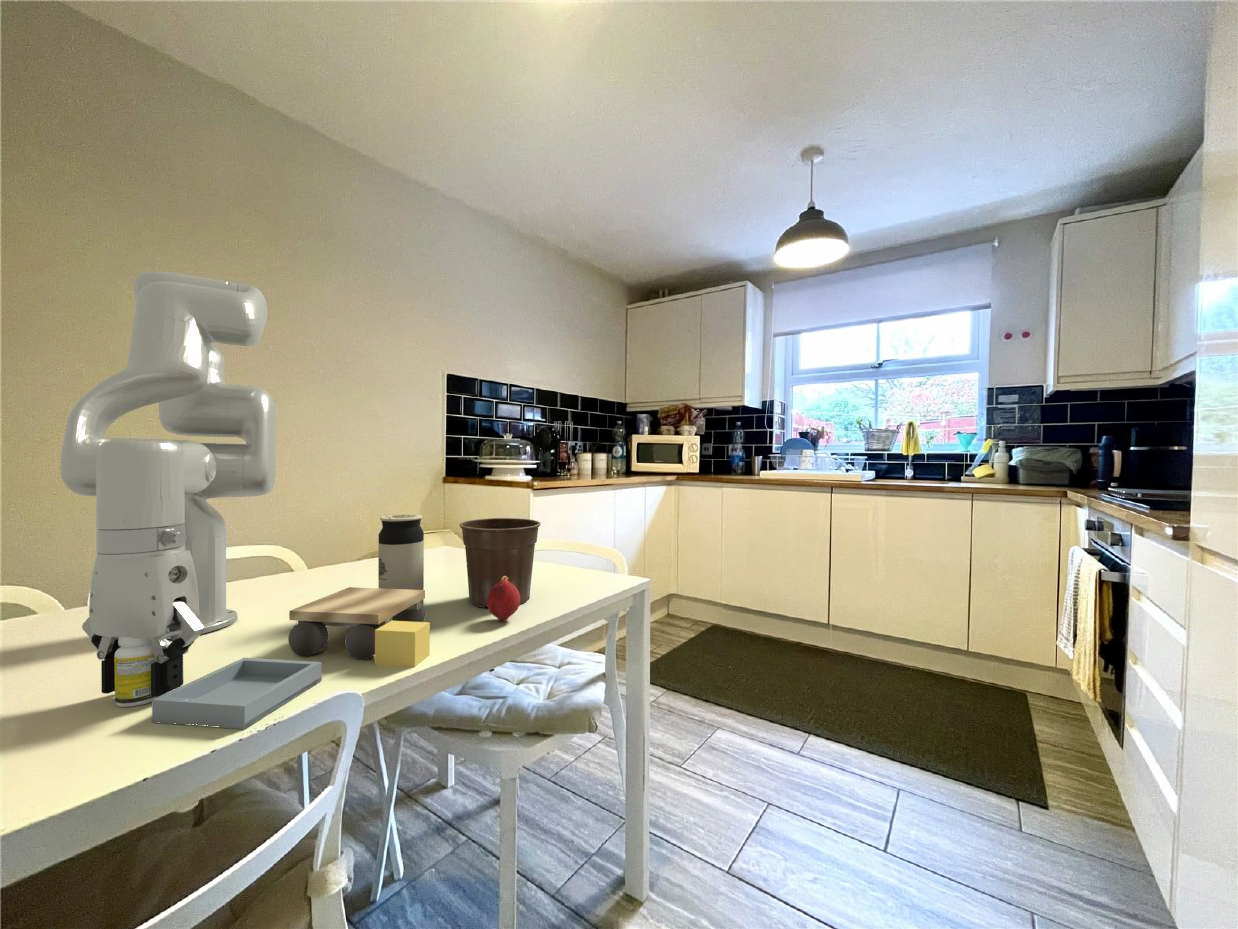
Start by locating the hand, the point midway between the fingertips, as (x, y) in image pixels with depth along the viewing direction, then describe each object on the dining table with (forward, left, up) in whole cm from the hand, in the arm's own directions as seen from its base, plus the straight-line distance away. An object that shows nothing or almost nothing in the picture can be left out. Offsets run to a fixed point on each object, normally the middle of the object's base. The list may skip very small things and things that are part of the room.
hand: (143, 688), depth 57 cm
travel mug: (+11, +36, -1) cm, 38 cm away
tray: (+12, +1, -1) cm, 13 cm away
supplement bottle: (0, 0, -1) cm, 1 cm away
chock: (+25, +14, -1) cm, 29 cm away
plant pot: (+28, +44, -1) cm, 52 cm away
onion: (+33, +32, -1) cm, 46 cm away
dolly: (+14, +20, -1) cm, 25 cm away
